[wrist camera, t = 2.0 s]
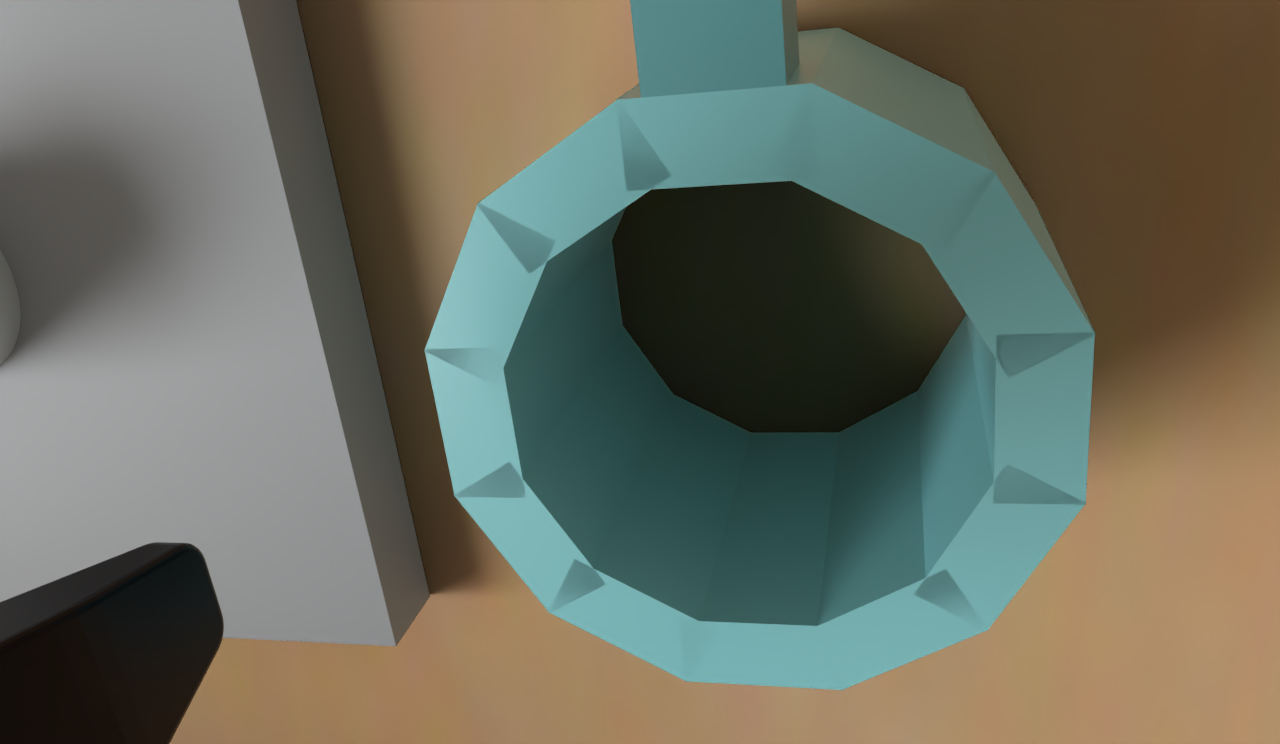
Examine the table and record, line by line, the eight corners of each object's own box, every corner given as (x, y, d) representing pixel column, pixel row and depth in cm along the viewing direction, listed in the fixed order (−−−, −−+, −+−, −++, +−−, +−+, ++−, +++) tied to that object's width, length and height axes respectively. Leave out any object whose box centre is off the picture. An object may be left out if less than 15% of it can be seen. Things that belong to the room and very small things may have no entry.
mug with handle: (1025, 484, 16) (1074, 703, 12) (591, 480, 18) (490, 670, 14) (1043, -94, 13) (1119, -92, 9) (515, -31, 15) (352, -3, 10)
